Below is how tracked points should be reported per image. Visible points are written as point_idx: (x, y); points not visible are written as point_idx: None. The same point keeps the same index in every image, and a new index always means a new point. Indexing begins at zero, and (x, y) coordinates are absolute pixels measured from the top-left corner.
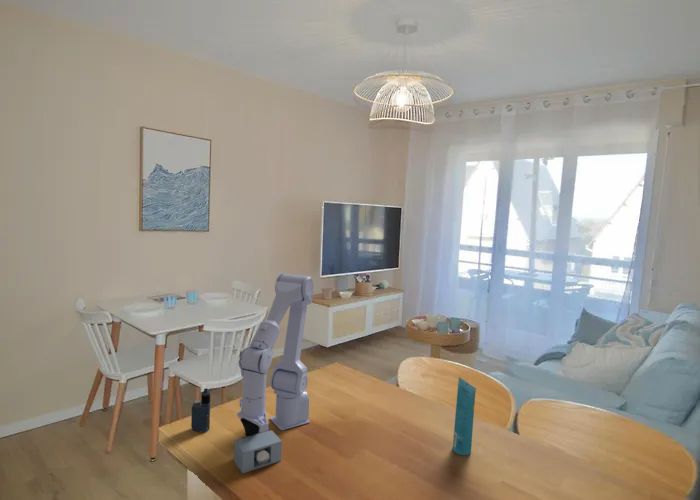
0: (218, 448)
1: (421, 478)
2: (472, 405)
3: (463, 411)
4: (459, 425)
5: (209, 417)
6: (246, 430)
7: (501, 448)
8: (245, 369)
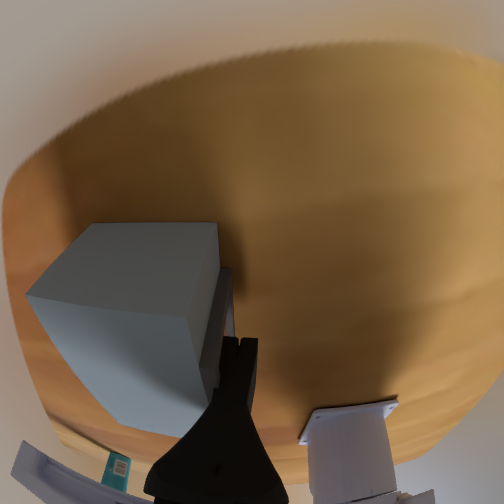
0: (393, 194)
1: (69, 420)
2: None
3: None
4: (108, 482)
5: None
6: (189, 430)
7: None
8: None
